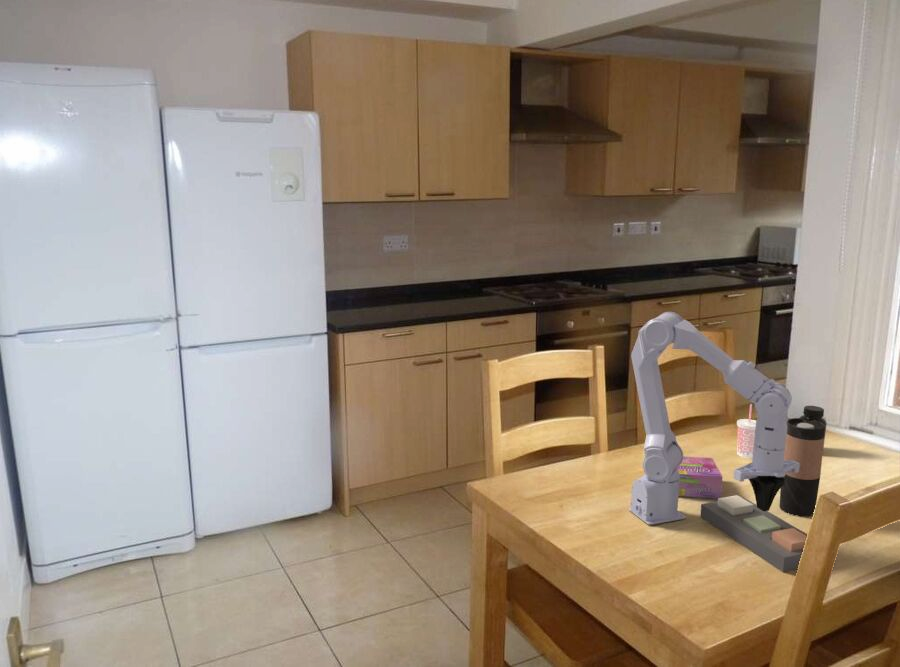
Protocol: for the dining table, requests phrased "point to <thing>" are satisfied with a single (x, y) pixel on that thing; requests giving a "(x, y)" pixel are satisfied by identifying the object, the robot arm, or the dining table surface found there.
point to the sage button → (762, 524)
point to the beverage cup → (746, 436)
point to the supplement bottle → (814, 415)
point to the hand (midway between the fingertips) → (763, 508)
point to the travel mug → (802, 466)
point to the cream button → (735, 505)
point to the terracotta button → (789, 539)
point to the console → (753, 534)
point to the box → (699, 478)
